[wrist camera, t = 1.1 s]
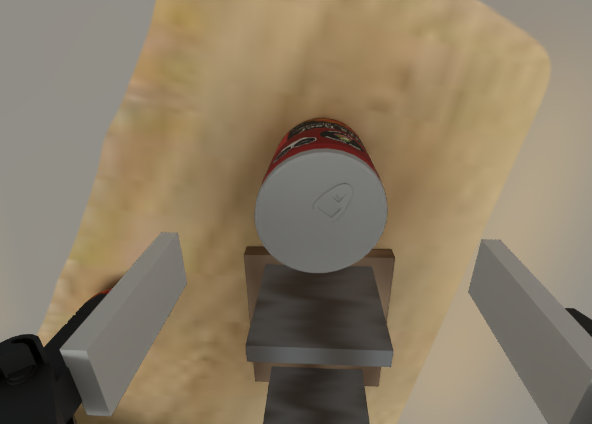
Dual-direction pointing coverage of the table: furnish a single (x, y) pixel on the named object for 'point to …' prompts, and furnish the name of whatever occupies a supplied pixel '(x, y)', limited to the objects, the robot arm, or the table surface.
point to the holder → (318, 336)
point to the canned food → (320, 199)
